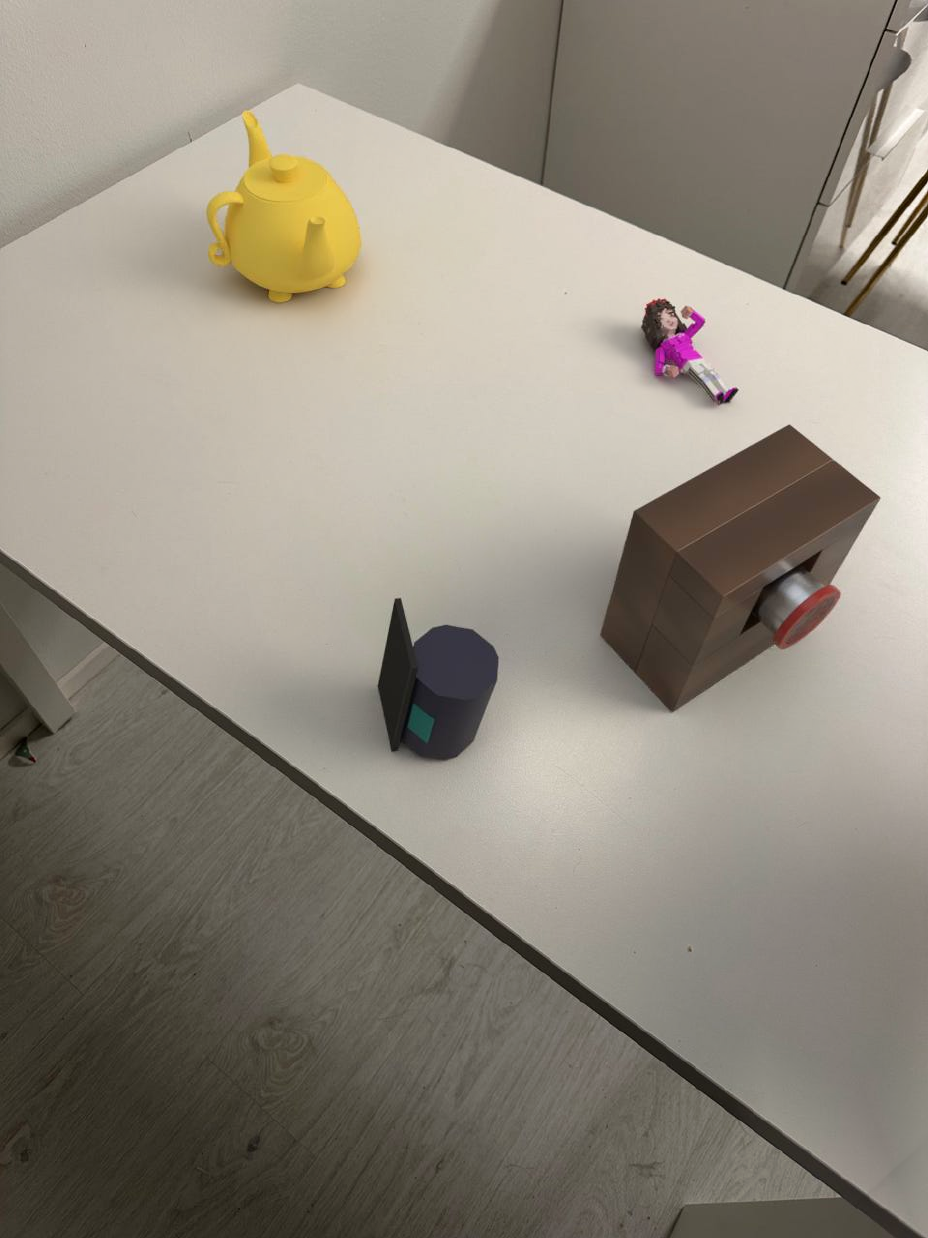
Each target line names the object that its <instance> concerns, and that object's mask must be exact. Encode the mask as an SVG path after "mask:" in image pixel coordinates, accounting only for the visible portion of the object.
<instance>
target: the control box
mask: <svg viewBox="0 0 928 1238" xmlns="http://www.w3.org/2000/svg"><path fill="white" fill-rule="evenodd" d="M881 499H882V497H881V496H880V495H878V494H877V493H876V492H875V491H874V490H872V489H871V488H870V487H868V486H867V485H866V484H865V483H864V482H862V481H861V480H860V479H859V478H857V476H855V475H854V474H852V473H851V472H850V471H849V470H847V469H846V468H845V467H843V465H841V464H840V463H839V462H838V461H836V460H835V459H834V458H832V457H831V456H830V455H828V453H826V452H825V451H823V450H822V449H821V448H820V447H819V446H817V444H815V443H814V442H812V441H811V440H810V439H809V438H807V437H806V436H805V435H804V434H803V433H802V432H800V431H799V430H798V429H796V428H795V427H794V426H793V425H792V424H787V425H785V426H783V427H781V428H780V429H779V430H776V431H774V432H773V433H771V434H769V435H767V436H765V437H764V438H762V439H760V440H758V441H757V442H755V443H753V444H751V445H749V446H748V447H746V448H744V449H742V450H740V451H738V452H737V453H735V454H732V455H731V456H730V457H728V458H726V459H724V460H722V461H721V462H719V463H717V464H715V465H713V466H712V467H710V468H708V469H706V470H705V471H703V472H701V473H699V474H697V475H696V476H694V477H692V478H690V479H688V480H686V481H685V482H683V483H681V484H679V485H678V486H676V487H674V488H672V489H670V490H669V491H667V492H665V493H663V494H662V495H660V496H658V497H656V498H654V499H653V500H651V501H649V502H647V503H645V504H644V505H642V506H640V507H638V508H637V509H634V510H633V512H632V516H631V519H630V524H629V527H628V531H627V535H626V538H625V542H624V545H623V550H622V553H621V557H620V561H619V565H618V567H617V572H616V575H615V579H614V583H613V586H612V588H611V589H612V590H611V593H610V597H609V601H608V604H607V608H606V613H605V615H604V619H603V622H602V626H601V631H600V633H599V635H600V637H601V638H602V639H603V640H604V641H605V642H606V643H607V644H608V645H609V647H611V648H612V649H613V650H614V652H615V653H616V654H617V655H618V656H619V657H620V658H621V659H622V660H623V661H624V663H625V664H626V665H627V666H628V667H629V668H630V669H631V670H632V671H633V672H634V673H635V674H636V676H638V677H639V678H640V680H641V681H642V682H643V683H644V684H645V685H646V686H647V687H648V688H649V689H650V691H652V693H653V694H654V695H655V696H656V697H657V698H658V700H660V701H661V702H662V703H663V704H664V706H665V707H666V708H667V709H668V710H669V711H670V712H671V713H674V712H675V711H678V710H679V709H681V708H682V707H683V706H685V705H686V704H687V703H689V702H690V701H692V700H694V699H695V698H697V697H698V696H700V695H701V694H702V693H704V692H705V691H707V690H708V689H710V688H711V687H713V686H714V685H716V684H717V683H719V682H720V681H722V680H724V679H725V678H727V676H729V675H731V674H732V673H734V672H735V671H737V670H739V669H740V668H741V667H743V666H744V665H746V664H747V663H749V662H750V661H752V660H754V658H756V657H758V656H759V655H760V654H762V653H763V652H765V651H767V650H768V649H769V648H771V647H773V646H774V645H775V644H774V642H773V638H774V636H775V635H774V634H773V633H772V632H771V631H770V630H769V629H768V628H767V627H766V626H764V625H763V624H762V623H761V622H760V621H759V620H758V619H757V618H756V617H755V616H754V615H753V614H752V613H751V611H752V609H753V607H754V605H755V603H756V601H757V599H758V597H759V595H760V593H761V591H762V589H763V587H764V586H766V585H767V584H769V583H770V582H772V581H774V580H775V579H777V578H778V577H780V576H781V575H783V574H785V573H786V572H788V571H789V570H791V569H792V568H794V567H796V566H797V565H799V564H801V565H802V566H803V567H804V568H805V569H806V570H807V571H808V572H810V573H811V574H812V575H813V576H814V577H815V578H816V579H817V580H819V581H820V582H821V583H822V584H823V585H824V586H828V585H832V584H831V583H832V582H833V580H834V579H835V577H836V575H837V573H838V572H839V570H840V569H841V567H842V565H843V563H844V561H845V560H846V558H847V556H848V555H849V553H850V551H851V550H852V548H853V547H854V544H855V543H856V541H857V540H858V538H859V536H860V535H861V533H862V531H863V529H864V528H865V526H866V524H867V523H868V521H869V519H870V517H871V516H872V514H873V512H874V511H875V509H876V507H877V505H878V503H879V502H880V501H881Z"/></svg>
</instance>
